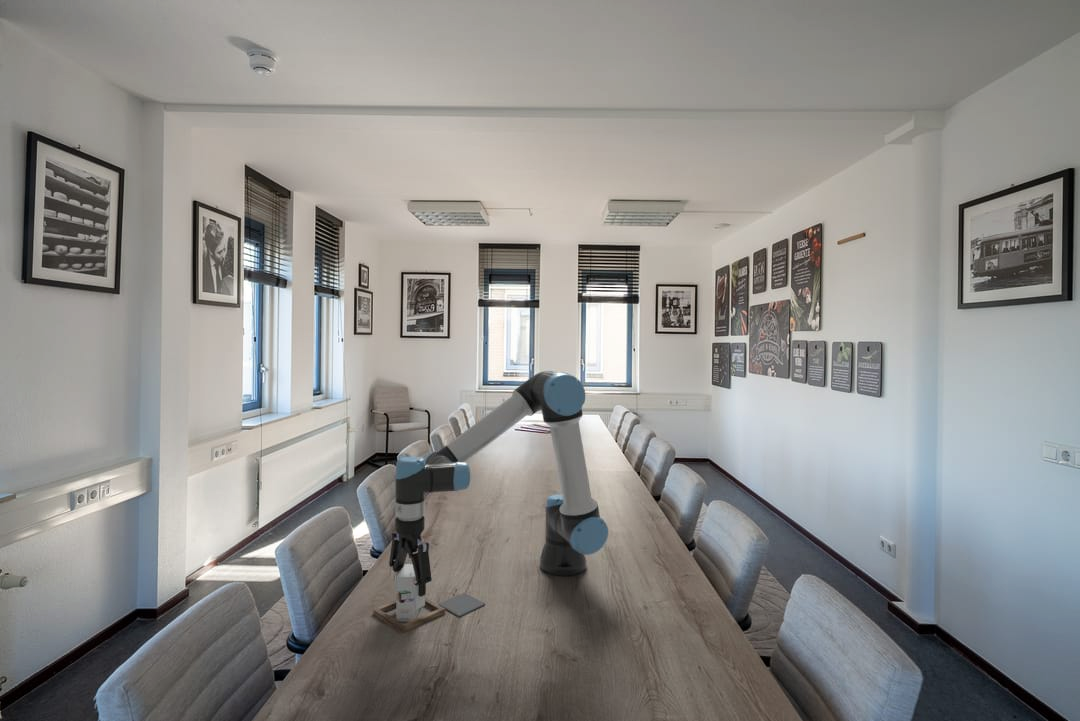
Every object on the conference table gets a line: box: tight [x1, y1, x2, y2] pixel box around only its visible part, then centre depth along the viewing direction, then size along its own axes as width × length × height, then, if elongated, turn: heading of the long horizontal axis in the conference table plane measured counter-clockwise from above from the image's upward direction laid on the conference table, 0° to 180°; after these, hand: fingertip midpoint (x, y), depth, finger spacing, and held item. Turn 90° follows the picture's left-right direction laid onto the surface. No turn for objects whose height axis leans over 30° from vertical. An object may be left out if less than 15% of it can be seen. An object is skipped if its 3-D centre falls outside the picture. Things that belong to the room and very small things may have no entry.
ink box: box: [395, 563, 421, 623], centre depth 139 cm, size 8×5×12 cm, turn 179°
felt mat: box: [438, 592, 486, 618], centre depth 144 cm, size 9×9×1 cm
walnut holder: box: [372, 596, 446, 634], centre depth 139 cm, size 13×13×1 cm
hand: (409, 600), depth 139 cm, fingers closed on ink box, 9 cm apart
